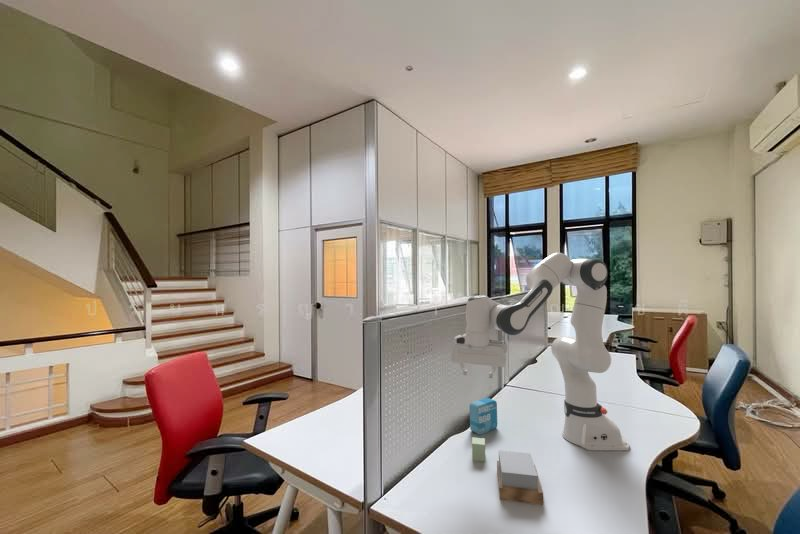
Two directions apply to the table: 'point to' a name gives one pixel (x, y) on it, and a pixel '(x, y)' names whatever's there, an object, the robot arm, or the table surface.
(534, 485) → the tower top
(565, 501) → the table surface
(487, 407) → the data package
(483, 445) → the sage block
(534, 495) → the tower base
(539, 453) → the table surface
